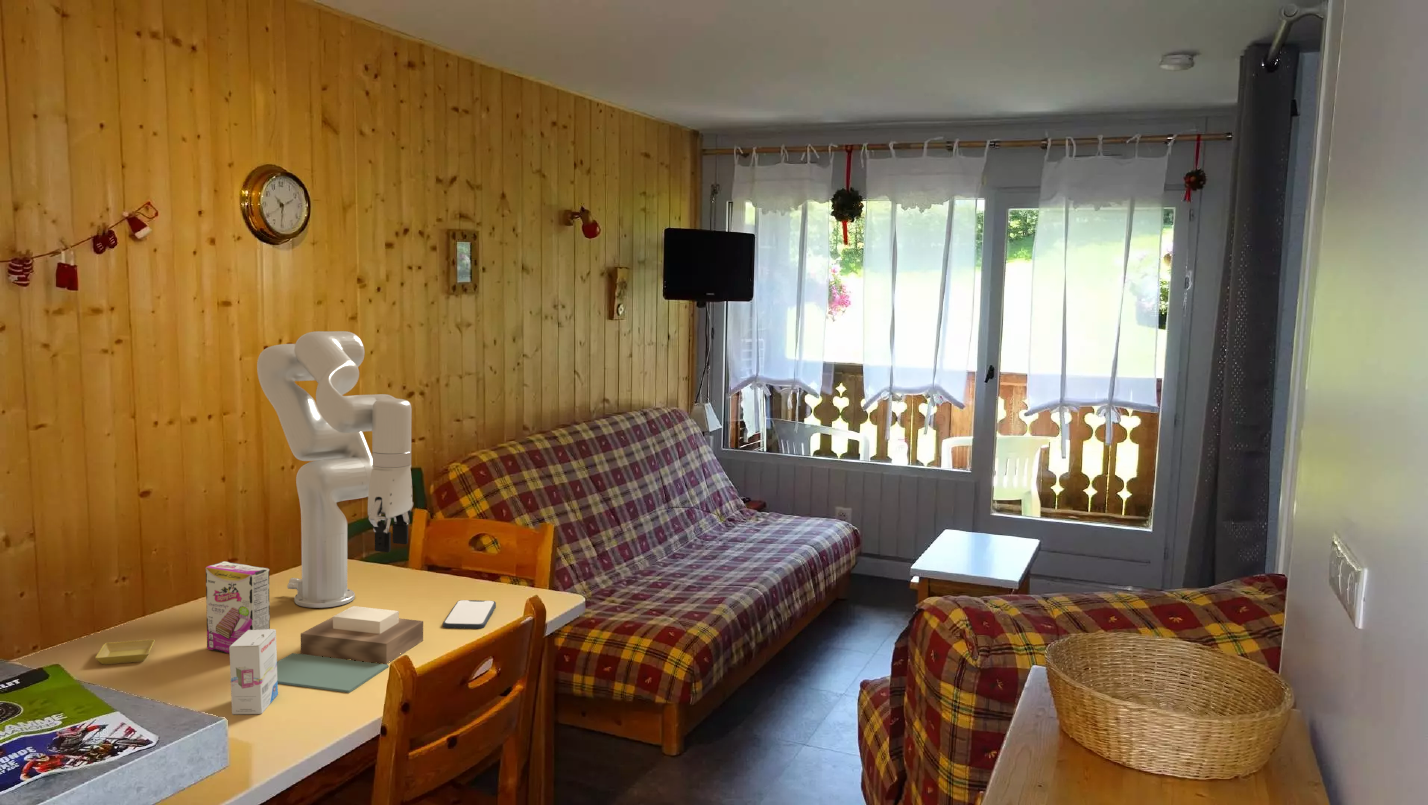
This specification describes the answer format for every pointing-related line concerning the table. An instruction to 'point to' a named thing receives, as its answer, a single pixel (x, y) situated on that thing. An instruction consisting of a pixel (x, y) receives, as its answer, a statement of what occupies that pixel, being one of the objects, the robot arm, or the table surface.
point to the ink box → (253, 671)
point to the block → (361, 641)
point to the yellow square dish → (124, 651)
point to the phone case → (470, 614)
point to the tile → (366, 619)
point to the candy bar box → (235, 602)
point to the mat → (325, 672)
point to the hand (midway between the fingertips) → (391, 546)
